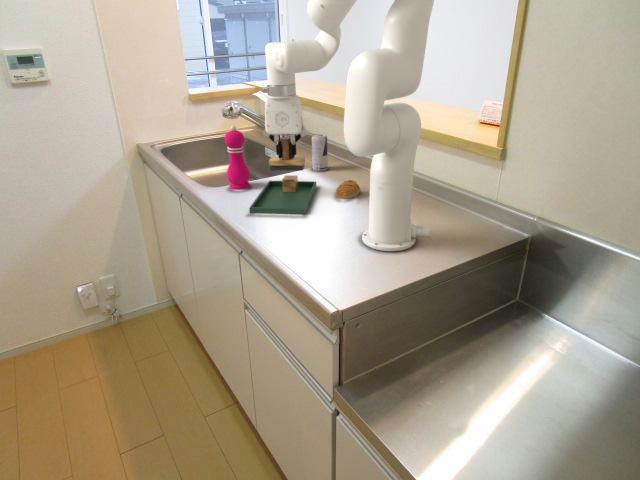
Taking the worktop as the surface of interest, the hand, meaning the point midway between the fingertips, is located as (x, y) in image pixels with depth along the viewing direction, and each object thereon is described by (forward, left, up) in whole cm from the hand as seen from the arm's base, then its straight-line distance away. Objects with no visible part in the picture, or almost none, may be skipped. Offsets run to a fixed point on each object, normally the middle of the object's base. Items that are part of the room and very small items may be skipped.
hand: (286, 156), depth 131 cm
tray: (0, +4, -12) cm, 13 cm away
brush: (0, 0, -4) cm, 4 cm away
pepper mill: (+17, -6, -13) cm, 22 cm away
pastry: (-18, -2, -13) cm, 22 cm away
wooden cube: (0, -4, -12) cm, 12 cm away
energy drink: (-6, -28, -13) cm, 32 cm away
